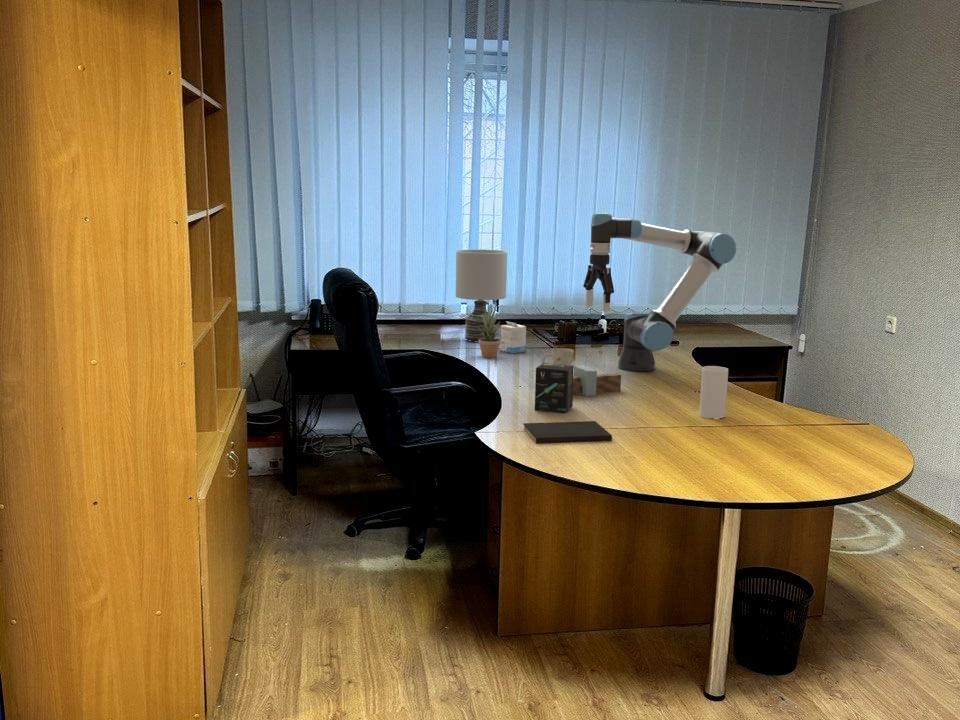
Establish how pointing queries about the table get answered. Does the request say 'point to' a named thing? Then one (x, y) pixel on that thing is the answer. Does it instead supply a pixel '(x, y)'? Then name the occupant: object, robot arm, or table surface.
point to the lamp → (480, 284)
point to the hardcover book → (567, 432)
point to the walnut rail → (600, 383)
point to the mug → (560, 356)
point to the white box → (513, 338)
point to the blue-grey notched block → (586, 379)
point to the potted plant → (489, 335)
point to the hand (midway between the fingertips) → (597, 308)
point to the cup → (713, 392)
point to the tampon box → (554, 388)
